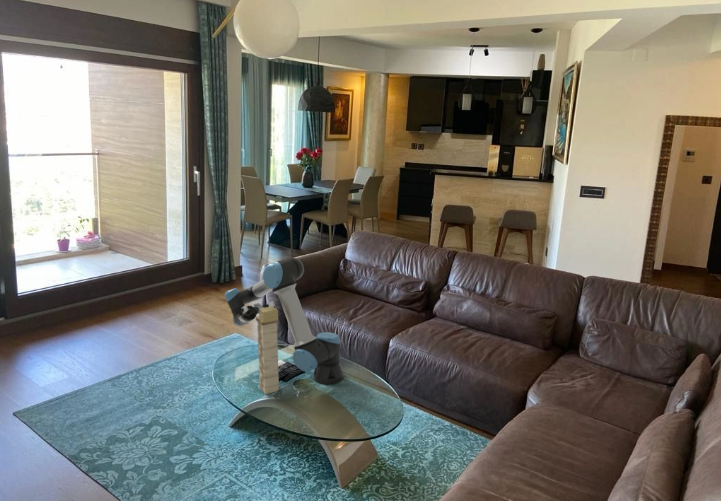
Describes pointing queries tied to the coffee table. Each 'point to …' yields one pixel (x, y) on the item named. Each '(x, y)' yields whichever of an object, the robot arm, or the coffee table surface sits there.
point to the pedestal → (268, 356)
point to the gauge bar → (266, 313)
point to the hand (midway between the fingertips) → (260, 305)
